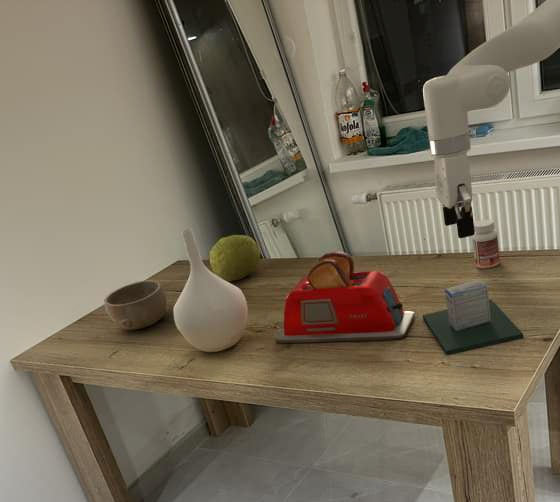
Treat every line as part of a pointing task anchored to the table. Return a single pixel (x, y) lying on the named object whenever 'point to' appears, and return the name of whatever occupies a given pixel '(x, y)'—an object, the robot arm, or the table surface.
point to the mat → (472, 331)
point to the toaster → (343, 305)
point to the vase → (208, 306)
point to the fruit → (234, 257)
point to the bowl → (136, 304)
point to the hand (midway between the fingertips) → (459, 230)
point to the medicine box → (468, 305)
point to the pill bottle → (485, 244)
